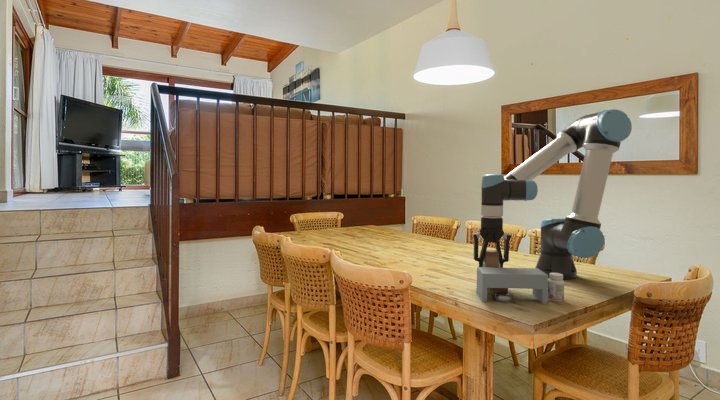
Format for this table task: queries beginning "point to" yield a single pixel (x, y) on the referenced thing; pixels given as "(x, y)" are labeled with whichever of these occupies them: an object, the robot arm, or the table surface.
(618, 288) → the table surface
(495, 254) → the brown angled block
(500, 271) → the bench
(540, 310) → the table surface
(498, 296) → the steel puck
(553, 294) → the pill bottle
